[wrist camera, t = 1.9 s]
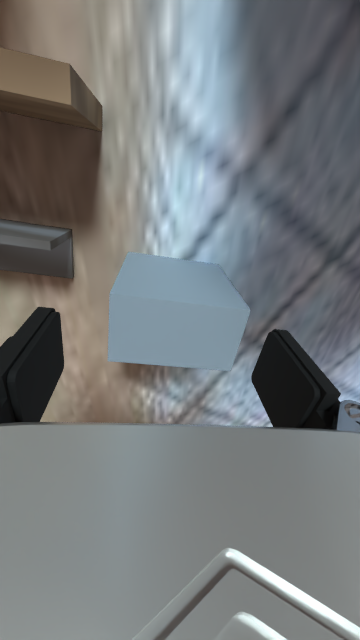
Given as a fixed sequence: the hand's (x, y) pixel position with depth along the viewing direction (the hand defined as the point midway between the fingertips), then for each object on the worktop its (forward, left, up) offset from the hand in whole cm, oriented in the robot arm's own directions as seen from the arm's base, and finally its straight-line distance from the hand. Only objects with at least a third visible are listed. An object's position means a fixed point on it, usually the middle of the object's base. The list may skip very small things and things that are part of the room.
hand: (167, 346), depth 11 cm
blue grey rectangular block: (-1, -1, -10) cm, 10 cm away
